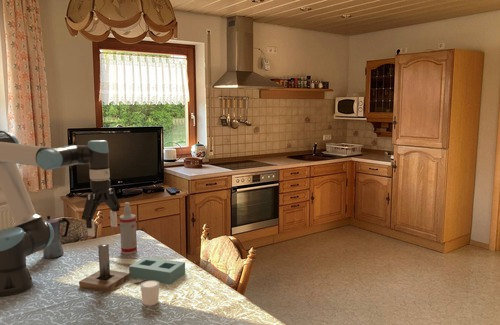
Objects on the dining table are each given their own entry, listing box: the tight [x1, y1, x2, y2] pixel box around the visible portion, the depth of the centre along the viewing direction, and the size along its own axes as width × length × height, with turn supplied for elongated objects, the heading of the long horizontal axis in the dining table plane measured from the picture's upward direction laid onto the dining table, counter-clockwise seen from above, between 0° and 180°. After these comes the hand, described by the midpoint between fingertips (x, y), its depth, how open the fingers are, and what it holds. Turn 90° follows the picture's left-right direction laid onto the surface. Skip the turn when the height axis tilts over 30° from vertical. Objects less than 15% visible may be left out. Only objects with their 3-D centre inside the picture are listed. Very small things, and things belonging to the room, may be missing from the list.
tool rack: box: [128, 256, 186, 285], centre depth 180 cm, size 12×20×5 cm, turn 70°
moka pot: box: [42, 215, 71, 259], centre depth 204 cm, size 10×15×20 cm, turn 115°
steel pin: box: [97, 243, 111, 281], centre depth 172 cm, size 4×4×16 cm
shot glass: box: [140, 280, 160, 306], centre depth 156 cm, size 7×7×7 cm
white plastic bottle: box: [119, 201, 138, 255], centre depth 209 cm, size 8×8×25 cm
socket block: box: [78, 269, 131, 293], centre depth 173 cm, size 14×14×2 cm
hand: (103, 231), depth 170 cm, fingers open, 13 cm apart
